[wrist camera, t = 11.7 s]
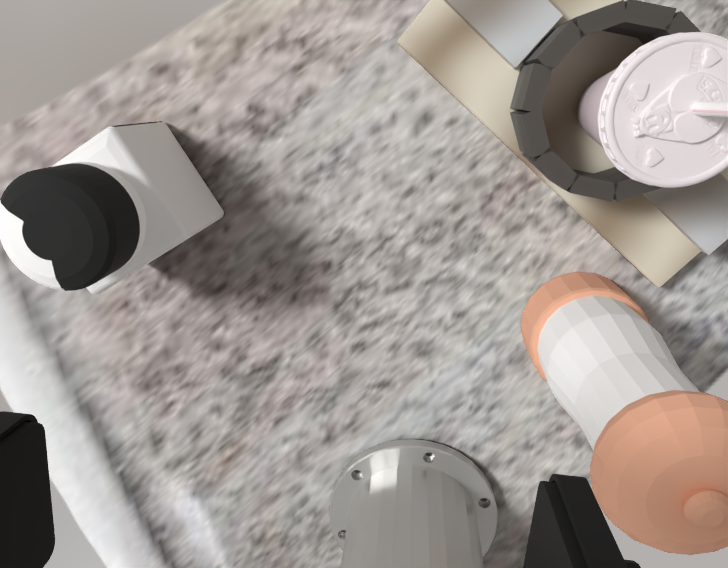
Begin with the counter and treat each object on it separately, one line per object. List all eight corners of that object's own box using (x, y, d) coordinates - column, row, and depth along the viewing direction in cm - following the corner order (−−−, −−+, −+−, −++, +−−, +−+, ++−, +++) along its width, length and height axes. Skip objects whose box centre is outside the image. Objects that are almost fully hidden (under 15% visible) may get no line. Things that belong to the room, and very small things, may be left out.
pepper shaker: (499, 339, 40) (568, 539, 22) (563, 251, 38) (698, 393, 20) (587, 390, 41) (725, 627, 23) (655, 307, 39) (869, 494, 20)
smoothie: (678, 144, 34) (847, 174, 21) (567, 179, 35) (660, 229, 22) (656, 31, 32) (824, -15, 19) (540, 72, 33) (623, 56, 20)
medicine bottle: (164, 118, 38) (55, 128, 26) (227, 214, 39) (150, 262, 28) (81, 175, 39) (-55, 208, 28) (145, 265, 41) (40, 330, 29)
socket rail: (781, 164, 35) (844, 176, 30) (649, 281, 38) (686, 310, 33) (519, -106, 32) (539, -145, 27) (397, 43, 35) (394, 34, 30)
